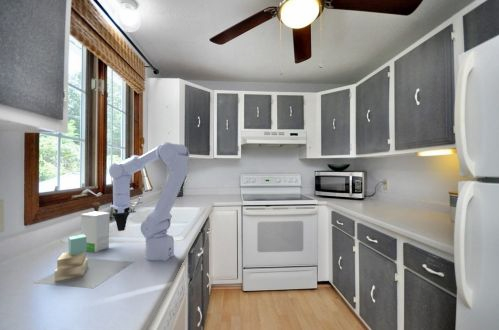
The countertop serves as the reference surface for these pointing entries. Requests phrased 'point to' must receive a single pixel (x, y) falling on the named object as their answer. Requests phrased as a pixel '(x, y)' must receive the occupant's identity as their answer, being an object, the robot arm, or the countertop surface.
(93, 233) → the skincare box
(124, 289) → the countertop surface
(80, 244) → the sage block
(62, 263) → the maple slab upper
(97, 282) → the grey board
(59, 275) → the maple slab lower
